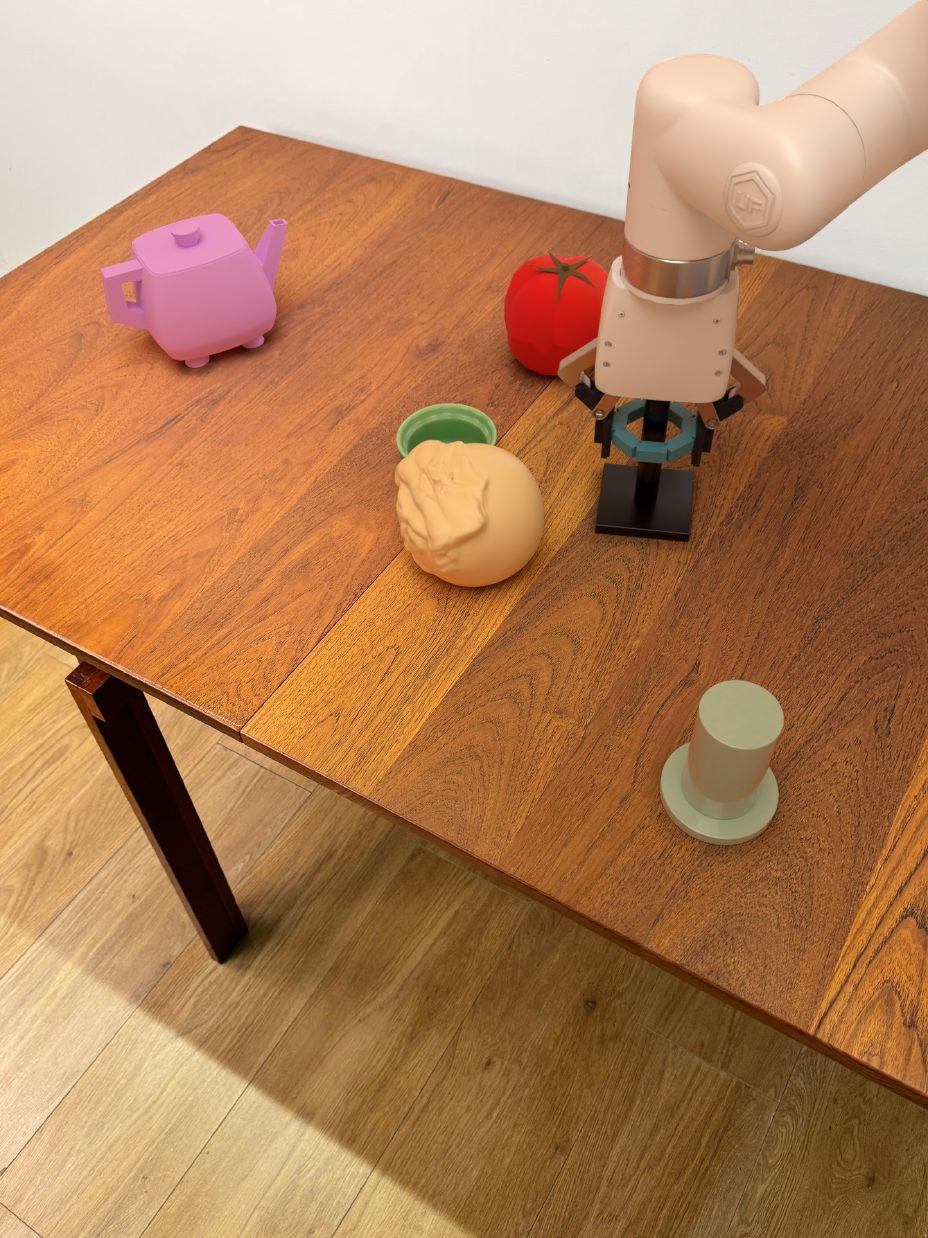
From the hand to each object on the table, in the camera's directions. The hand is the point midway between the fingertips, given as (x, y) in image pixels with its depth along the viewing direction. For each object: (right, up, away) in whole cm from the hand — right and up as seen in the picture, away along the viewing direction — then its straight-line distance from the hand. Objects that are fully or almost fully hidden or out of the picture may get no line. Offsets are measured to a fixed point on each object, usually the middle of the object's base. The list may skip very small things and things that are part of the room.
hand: (650, 450), depth 83 cm
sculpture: (-15, -9, +2) cm, 17 cm away
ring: (0, +1, -1) cm, 2 cm away
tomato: (-6, +12, +19) cm, 23 cm away
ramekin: (-17, -1, +9) cm, 19 cm away
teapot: (-42, +16, +24) cm, 51 cm away
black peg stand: (0, -4, +5) cm, 6 cm away
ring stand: (+2, -26, -13) cm, 30 cm away
